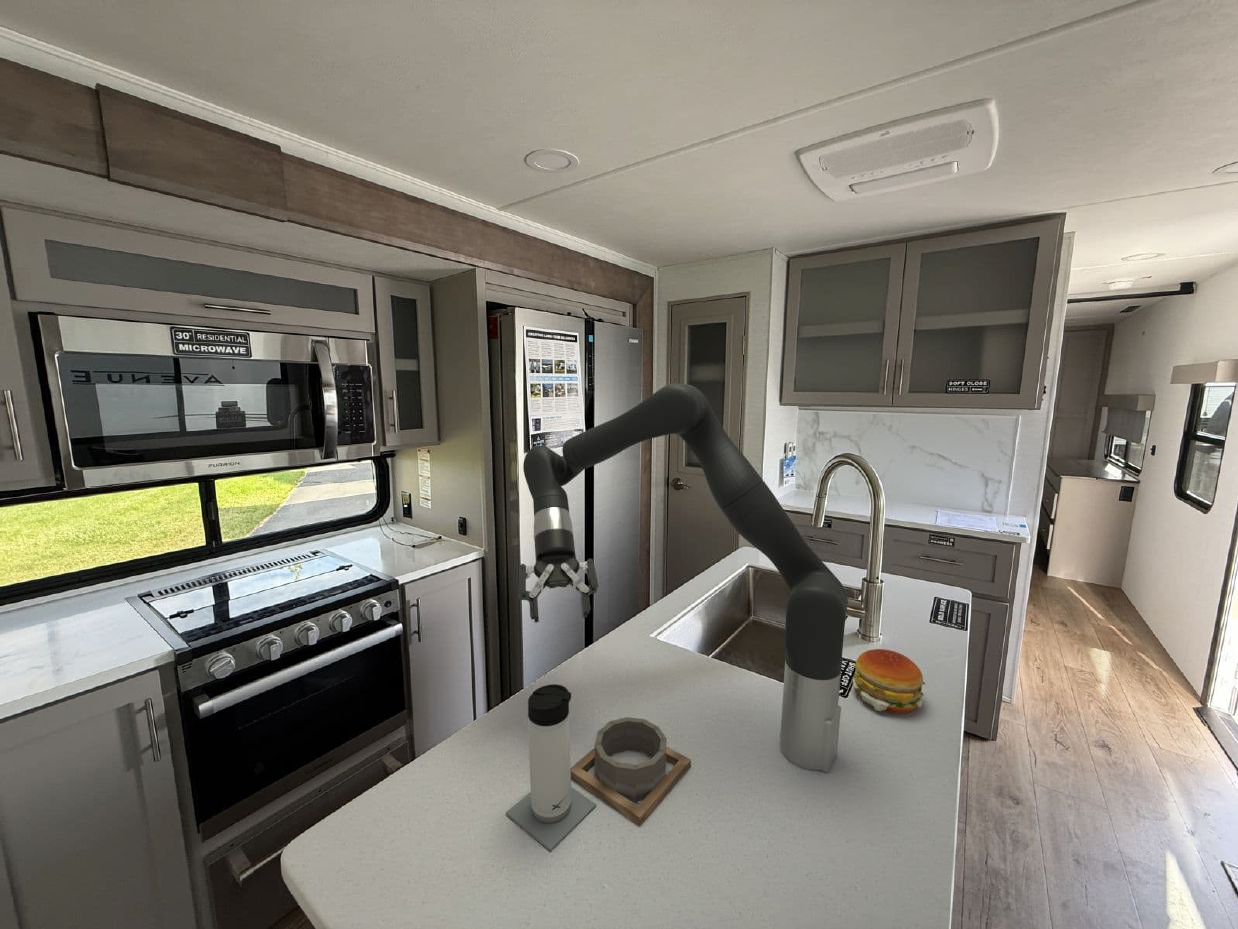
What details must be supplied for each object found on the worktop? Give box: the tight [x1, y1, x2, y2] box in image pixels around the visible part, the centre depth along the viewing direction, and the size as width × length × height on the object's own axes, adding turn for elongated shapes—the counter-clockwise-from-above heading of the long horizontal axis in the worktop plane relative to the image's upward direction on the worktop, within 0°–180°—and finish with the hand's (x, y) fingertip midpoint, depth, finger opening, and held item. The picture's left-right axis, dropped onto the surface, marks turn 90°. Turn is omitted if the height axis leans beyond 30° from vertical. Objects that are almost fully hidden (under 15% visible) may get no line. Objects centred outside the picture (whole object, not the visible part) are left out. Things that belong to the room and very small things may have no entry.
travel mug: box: [527, 683, 572, 823], centre depth 78 cm, size 6×7×20 cm
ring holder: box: [571, 716, 692, 827], centre depth 87 cm, size 15×15×6 cm
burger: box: [852, 648, 926, 714], centre depth 106 cm, size 14×14×10 cm
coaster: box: [505, 786, 597, 853], centre depth 79 cm, size 10×10×1 cm
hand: (561, 618), depth 89 cm, fingers open, 8 cm apart
